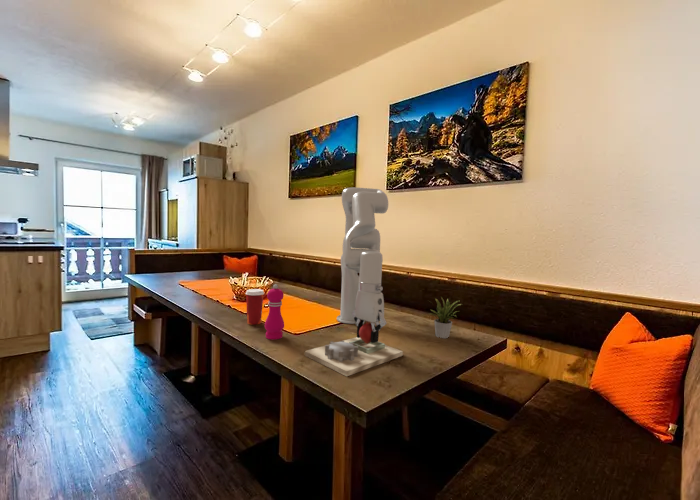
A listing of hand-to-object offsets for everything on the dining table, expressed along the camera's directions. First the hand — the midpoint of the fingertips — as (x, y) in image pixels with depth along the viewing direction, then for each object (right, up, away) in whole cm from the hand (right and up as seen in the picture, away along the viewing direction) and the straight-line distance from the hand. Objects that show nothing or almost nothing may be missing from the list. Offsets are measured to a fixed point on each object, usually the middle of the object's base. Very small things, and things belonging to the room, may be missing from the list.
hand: (367, 338), depth 118 cm
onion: (0, -2, 0) cm, 2 cm away
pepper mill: (-35, -2, +11) cm, 36 cm away
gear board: (-4, -4, -4) cm, 7 cm away
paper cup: (-47, -1, +28) cm, 55 cm away
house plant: (+33, -5, +21) cm, 39 cm away
